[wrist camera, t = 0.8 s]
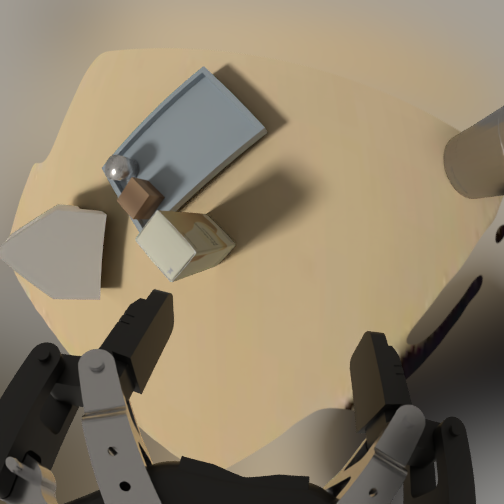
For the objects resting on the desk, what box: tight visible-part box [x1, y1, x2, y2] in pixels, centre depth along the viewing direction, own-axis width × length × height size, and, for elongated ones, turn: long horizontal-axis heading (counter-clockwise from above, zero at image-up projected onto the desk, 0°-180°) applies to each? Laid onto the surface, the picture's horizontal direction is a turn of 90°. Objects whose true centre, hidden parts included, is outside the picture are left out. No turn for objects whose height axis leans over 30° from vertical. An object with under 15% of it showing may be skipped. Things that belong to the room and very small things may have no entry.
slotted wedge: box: [0, 204, 107, 299], centre depth 37 cm, size 14×11×18 cm
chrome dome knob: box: [105, 154, 139, 182], centre depth 35 cm, size 4×4×4 cm
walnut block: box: [117, 177, 165, 219], centre depth 35 cm, size 4×4×4 cm
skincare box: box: [136, 210, 235, 282], centre depth 32 cm, size 6×4×12 cm
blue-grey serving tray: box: [102, 66, 268, 232], centre depth 36 cm, size 22×14×3 cm, turn 128°
